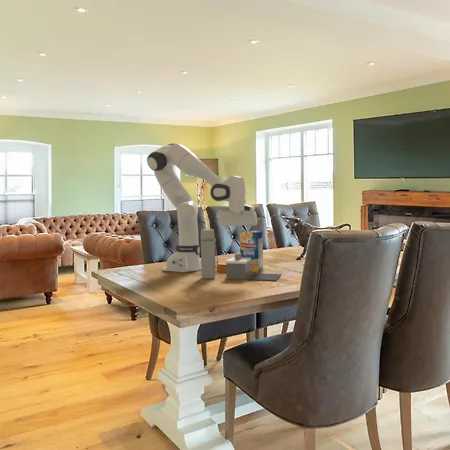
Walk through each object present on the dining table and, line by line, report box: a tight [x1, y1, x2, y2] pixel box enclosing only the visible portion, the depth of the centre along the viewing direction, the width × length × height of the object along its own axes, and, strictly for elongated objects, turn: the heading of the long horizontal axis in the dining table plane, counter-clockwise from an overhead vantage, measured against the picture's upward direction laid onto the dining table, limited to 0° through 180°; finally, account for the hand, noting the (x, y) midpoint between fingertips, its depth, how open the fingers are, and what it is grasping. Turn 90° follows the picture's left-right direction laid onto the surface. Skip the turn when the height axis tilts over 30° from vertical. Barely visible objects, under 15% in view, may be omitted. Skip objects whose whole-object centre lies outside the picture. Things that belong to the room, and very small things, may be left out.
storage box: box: [225, 261, 252, 280], centre depth 245 cm, size 10×12×8 cm
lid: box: [224, 252, 251, 264], centre depth 244 cm, size 11×13×5 cm
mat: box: [247, 272, 282, 282], centre depth 241 cm, size 14×16×1 cm
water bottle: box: [200, 228, 219, 280], centre depth 243 cm, size 9×8×25 cm
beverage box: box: [239, 230, 264, 273], centre depth 261 cm, size 7×11×22 cm, turn 64°
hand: (238, 234), depth 243 cm, fingers open, 8 cm apart
